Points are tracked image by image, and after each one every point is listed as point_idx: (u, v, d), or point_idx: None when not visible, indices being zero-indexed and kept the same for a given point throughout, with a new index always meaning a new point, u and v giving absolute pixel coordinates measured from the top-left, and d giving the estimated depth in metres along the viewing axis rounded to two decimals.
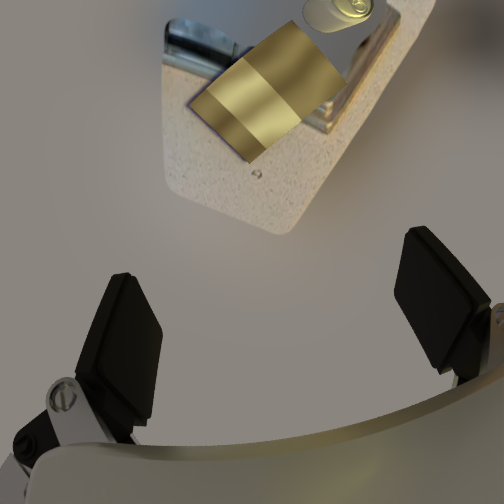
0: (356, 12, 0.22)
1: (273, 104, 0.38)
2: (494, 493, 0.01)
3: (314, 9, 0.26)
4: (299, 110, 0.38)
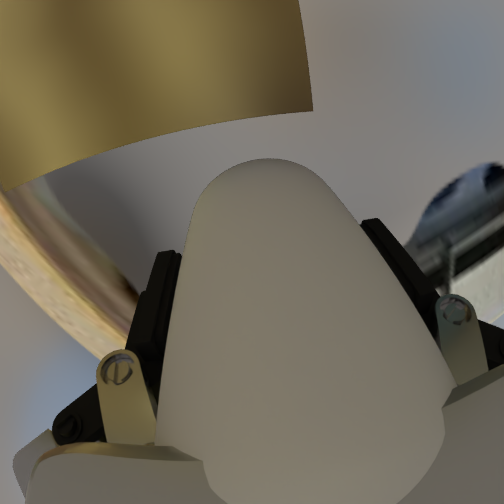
0: None
1: None
2: (494, 493, 0.01)
3: (349, 249, 0.06)
4: None
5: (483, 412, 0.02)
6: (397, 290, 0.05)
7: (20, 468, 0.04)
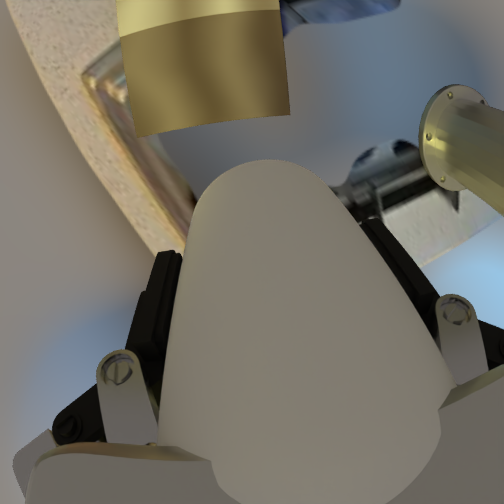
0: None
1: (170, 6, 0.15)
2: (494, 493, 0.01)
3: (349, 251, 0.06)
4: (136, 40, 0.17)
5: (483, 412, 0.02)
6: (397, 291, 0.05)
7: (20, 468, 0.04)
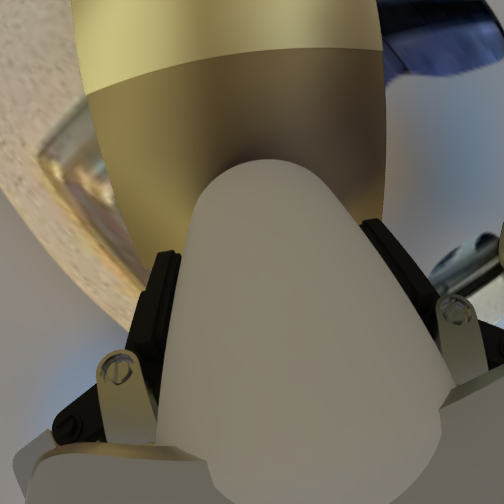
0: None
1: (179, 28, 0.08)
2: (494, 493, 0.01)
3: (349, 251, 0.06)
4: (116, 100, 0.10)
5: (483, 412, 0.02)
6: (396, 290, 0.05)
7: (20, 468, 0.04)
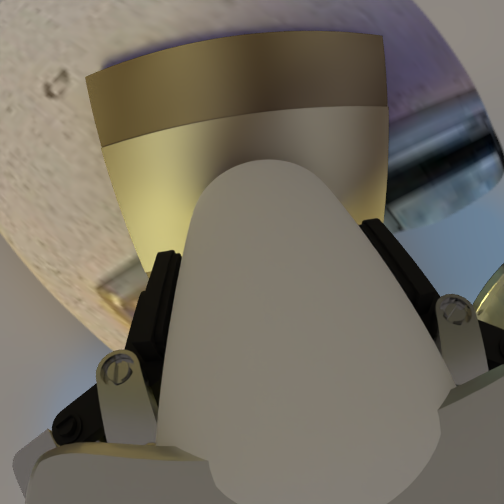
0: None
1: None
2: (494, 493, 0.01)
3: (349, 251, 0.06)
4: None
5: (483, 412, 0.02)
6: (396, 291, 0.05)
7: (20, 468, 0.04)
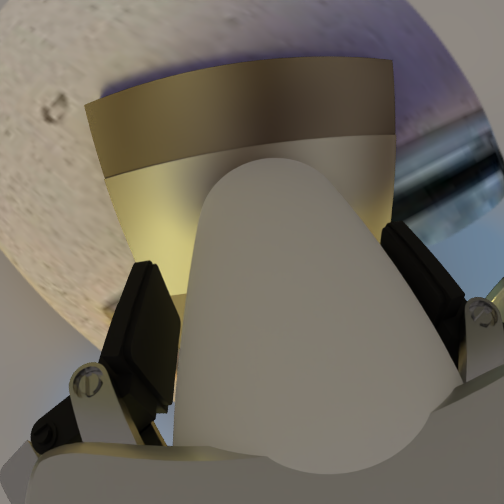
0: None
1: None
2: (494, 493, 0.01)
3: (356, 245, 0.06)
4: (179, 303, 0.16)
5: (483, 412, 0.02)
6: (401, 282, 0.05)
7: (7, 481, 0.03)
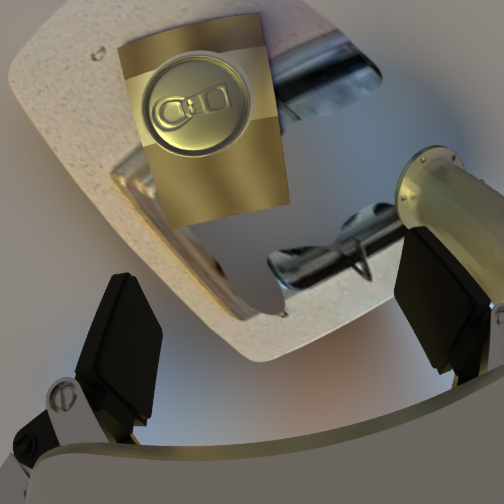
0: (160, 98, 0.13)
1: None
2: (494, 493, 0.01)
3: None
4: (158, 149, 0.25)
5: (483, 412, 0.02)
6: None
7: None
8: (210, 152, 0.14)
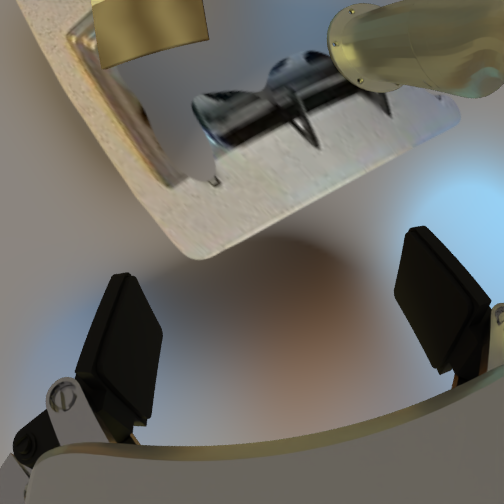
0: None
1: None
2: (494, 493, 0.01)
3: None
4: (102, 6, 0.20)
5: (483, 412, 0.02)
6: None
7: None
8: None
